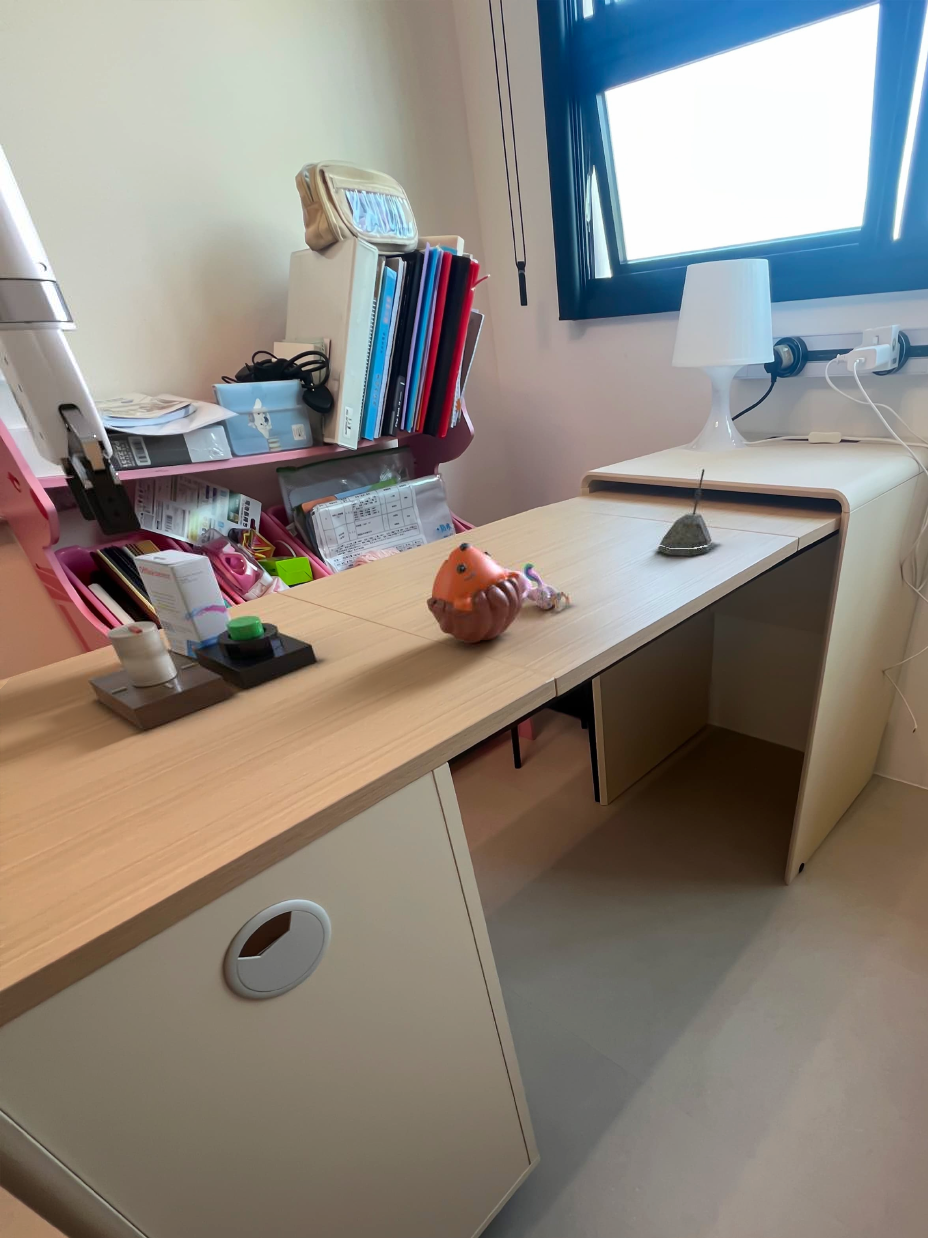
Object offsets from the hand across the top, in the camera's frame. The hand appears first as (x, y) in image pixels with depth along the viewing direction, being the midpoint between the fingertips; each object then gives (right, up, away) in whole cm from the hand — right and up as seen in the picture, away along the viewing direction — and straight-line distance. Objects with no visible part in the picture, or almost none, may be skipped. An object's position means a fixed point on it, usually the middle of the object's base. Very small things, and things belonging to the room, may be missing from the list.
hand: (112, 524), depth 65 cm
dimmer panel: (+1, -16, +7) cm, 18 cm away
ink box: (-1, -9, +18) cm, 20 cm away
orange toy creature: (+34, -7, +18) cm, 39 cm away
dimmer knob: (+1, -14, +5) cm, 15 cm away
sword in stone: (+64, +15, +48) cm, 81 cm away
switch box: (+7, -11, +14) cm, 19 cm away
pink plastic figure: (+38, +1, +29) cm, 48 cm away
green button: (+7, -8, +12) cm, 16 cm away
